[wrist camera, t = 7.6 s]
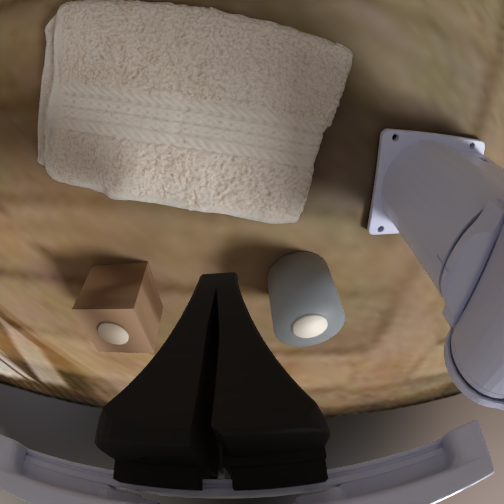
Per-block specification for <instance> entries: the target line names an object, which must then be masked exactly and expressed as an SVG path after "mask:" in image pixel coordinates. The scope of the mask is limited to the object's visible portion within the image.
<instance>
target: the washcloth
mask: <svg viewBox="0 0 504 504" xmlns="http://www.w3.org/2000/svg"><path fill="white" fill-rule="evenodd" d="M44 32H45V33H46V41H47V42H46V49H45V62H44V68H43V74H42V83H41V92H40V102H39V115H38V159H37V161H38V163H39V164H41V165H45V167H46V171H47V173H48V174H49V176H50V177H51V178H53V179H54V180H56V181H58V182H62V183H67V184H70V185H75V186H81V187H84V188H90V189H93V190H95V191H99V192H102V193H104V194H106V195H107V196H108V197H109V198H112V199H115V200H135V201H141V202H150V203H158V204H163V205H168V206H173V207H177V208H183V209H188V210H196V211H201V212H207V213H209V212H214V213H221V214H228V215H231V216H236V217H241V218H246V219H249V220H256V221H262V222H265V223H273V224H275V223H291V222H292V223H295V222H297V221H298V219H299V217H300V214H301V212H302V211H303V210H304V205H305V202H306V200H307V195H308V192H309V191H310V185H311V182H312V174H313V172H314V166H313V165H314V162H315V159H316V156H317V153H318V151H319V145H320V143H321V141H322V138H323V135H322V134H323V132H324V131H325V130H326V128H328V127H330V126H331V125H332V120H333V119H334V115H335V113H336V109H337V107H338V106H340V105H339V101H340V98H341V97H342V94H343V91H344V89H345V85H346V80H347V76H348V74H349V72H350V69H351V65H352V62H353V61H352V56H353V55H352V52H351V51H350V50H349V49H347V47H345V46H342V45H341V44H339V43H338V42H337V43H332V42H331V41H330V40H328V39H324V38H321V37H318V36H315V35H312V34H307V33H305V32H299V31H298V30H296V29H294V28H293V27H289V26H282V25H279V24H277V23H276V22H271V21H268V20H259V19H252V18H248V17H246V16H243V15H241V14H230V13H226V12H223V11H220V10H218V9H216V8H213V7H208V8H205V7H196V5H195V6H188V5H185V4H181V5H175V4H173V3H171V2H165V3H164V2H157V3H156V2H143V1H139V0H136V1H132V0H129V1H124V0H110V1H105V0H86V1H78V0H76V1H70V2H66V3H65V4H62V5H61V6H60V7H59V9H58V10H57V14H56V15H55V16H54V17H53V18H52V19H51V20H50V21H49V23H48V24H47V25H46V27H45V31H44Z"/></svg>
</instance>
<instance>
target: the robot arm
mask: <svg viewBox="0 0 504 504" xmlns="http://www.w3.org/2000/svg"><path fill="white" fill-rule="evenodd" d="M394 134H396V138H395V139H394V140H392V136H393V135H394ZM471 143H472V145H471V147H470V144H471ZM484 149H485V144H484V142H483V141H481V140H478V139H472V138H466V137H460V136H453V135H446V134H438V133H430V132H421V131H411V130H401V129H388V128H387V129H384V130H382V132H381V133H380V140H379V149H378V158H377V166H376V174H375V181H374V189H373V195H372V202H371V208H370V214H369V220H368V226H367V230H368V231H369V233H370V234H372V235H378V234H394V233H400V234H401V235H402V237H403V238H404V240H405V241H406V242H407V244H408V245H409V247H410V248H411V250H412V251H413V253H414V254H415V256H416V257H417V258H418V260H419V261H420V263H421V264H422V266H423V267H424V269H425V271H426V272H427V274H428V275H429V277H430V278H431V280H432V281H433V283H434V285H435V286H436V288H437V289H438V291H439V293H440V294H441V296H442V297H443V299H444V302H445V307H444V310H443V315H444V317H445V318H446V320H447V322H448V324H449V326H450V327H451V329H450V331H449V333H448V334H447V337H446V340H445V345H444V359H445V364H446V367H447V370H448V373H449V375H450V377H451V379H452V380H453V382H454V383H455V385H456V386H457V388H458V389H459V390H460V391H461V392H462V393H463V394H464V395H465V396H467V397H468V398H469V399H470V400H472V401H474V402H476V403H478V404H480V405H483V406H487V407H493V408H498V409H501V410H504V169H503V168H502V167H500V166H499V165H497V164H496V163H494V162H493V161H492V160H490V159H489V158H487V157H486V156H484V155H483V154H484ZM380 226H382V227H381V228H380V229H378V228H379V227H380ZM329 438H330V431H329V428H328V425H327V422H326V420H325V418H324V416H323V414H322V412H321V410H320V409H319V407H318V405H317V403H316V402H315V401H314V400H313V399H312V398H311V397H310V396H308V395H307V394H306V393H305V392H304V391H303V390H302V389H301V387H300V386H299V385H298V384H297V383H296V382H295V381H294V380H293V379H292V378H291V377H290V375H289V374H288V373H287V372H286V370H285V369H284V368H283V367H282V365H281V364H280V363H279V362H278V360H277V359H276V358H275V356H274V355H273V354H272V352H271V351H270V349H269V348H268V346H267V345H266V343H265V342H264V340H263V339H262V337H261V335H260V333H259V332H258V330H257V328H256V326H255V324H254V323H253V321H252V319H251V317H250V315H249V312H248V310H247V308H246V305H245V303H244V301H243V298H242V295H241V292H240V289H239V285H238V279H237V274H236V273H234V272H232V273H217V274H203V275H202V276H201V277H200V279H199V281H198V284H197V286H196V288H195V291H194V293H193V295H192V297H191V299H190V301H189V303H188V305H187V307H186V309H185V311H184V312H183V314H182V316H181V318H180V319H179V321H178V323H177V324H176V326H175V328H174V329H173V331H172V333H171V334H170V336H169V337H168V339H167V340H166V341H165V343H164V344H163V346H162V347H161V348H160V350H159V351H158V352H157V354H156V355H155V356H154V357H153V359H152V360H151V361H150V362H149V364H148V365H147V366H146V367H145V368H144V369H143V370H142V371H141V373H140V374H139V375H138V376H137V377H136V378H135V379H134V380H133V381H132V382H131V383H130V384H129V385H128V386H127V387H126V388H125V389H124V390H123V391H121V392H120V393H119V394H118V395H117V396H116V397H114V398H113V399H112V400H111V401H110V402H109V403H107V404H106V405H105V406H104V407H103V409H102V412H101V415H100V418H99V421H98V426H97V431H96V436H95V444H96V446H97V447H98V448H99V449H100V450H102V451H103V452H104V453H106V454H107V455H109V456H110V457H112V458H114V459H115V465H114V470H109V469H103V468H98V467H93V466H89V465H84V464H79V463H76V462H71V461H67V460H63V459H60V458H56V457H53V456H49V455H46V454H43V453H39V452H36V451H33V450H30V449H27V448H26V447H25V446H24V445H22V444H21V443H19V442H17V441H15V440H13V439H10V438H8V437H5V436H3V435H0V489H1V490H3V491H5V492H7V493H9V494H11V495H13V496H14V497H17V498H19V499H21V500H23V501H25V502H27V503H29V504H160V503H159V502H155V501H152V500H148V499H146V498H143V497H142V496H140V495H137V494H132V493H128V492H124V491H119V490H116V489H121V490H126V491H133V492H139V493H147V494H155V495H165V496H175V497H189V498H256V497H270V496H281V495H291V494H299V493H306V492H313V491H318V492H313V493H309V494H305V495H300V496H297V498H296V502H294V504H435V503H437V502H440V501H441V500H444V499H446V498H448V497H450V496H452V495H454V494H456V493H458V492H460V491H462V490H464V489H466V488H468V487H470V486H472V485H474V484H476V483H477V482H479V481H481V480H483V479H485V478H486V477H488V476H490V475H492V474H493V473H494V467H493V464H492V461H491V458H490V455H489V451H488V448H487V445H486V442H485V439H484V436H483V434H482V431H481V428H480V425H479V423H478V420H474V421H472V422H469V423H467V424H465V425H462V426H460V427H457V428H455V429H453V430H451V431H450V432H448V433H447V434H445V435H444V436H443V437H442V439H439V440H436V441H434V442H431V443H428V444H425V445H423V446H419V447H417V448H413V449H411V450H407V451H404V452H401V453H397V454H394V455H390V456H387V457H383V458H379V459H376V460H372V461H368V462H363V463H359V464H355V465H350V466H345V467H340V468H335V469H330V470H327V468H326V462H325V459H326V452H325V445H326V443H327V441H328V440H329ZM224 468H226V470H227V471H228V473H229V475H230V476H231V479H223V478H224V477H225V473H224ZM336 487H337V488H336ZM325 489H326V490H325ZM320 490H322V491H320Z"/></svg>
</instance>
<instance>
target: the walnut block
mask: <svg viewBox="0 0 504 504" xmlns="http://www.w3.org/2000/svg"><path fill="white" fill-rule="evenodd" d="M162 309H163V305H162V302H161V300H160V297H159V294H158V291H157V288H156V285H155V282H154V279H153V276H152V272H151V269H150V266H149V263H148V262H137V263H123V264H108V265H93V266H92V268H91V270H90V272H89V274H88V276H87V278H86V280H85V282H84V284H83V286H82V289H81V291H80V293H79V295H78V297H77V299H76V302H75V304H74V306H73V308H72V310H73V312H74V313H75V315H76V317H77V319H78V320H79V322H80V324H81V325H82V327H83V329H84V330H85V332H86V333H87V335H88V337H89V338H90V340H91V341H92V343H93V344H94V346H95V347H96V349H97V350H98V351H99V352H127V353H154V351H155V346H156V340H157V335H158V330H159V324H160V319H161V314H162Z"/></svg>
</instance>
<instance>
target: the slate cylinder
mask: <svg viewBox="0 0 504 504" xmlns="http://www.w3.org/2000/svg"><path fill="white" fill-rule="evenodd" d="M267 285H268V292H269V299H270V306H271V314H272V321H273V328H274V333H275V335H276V337H277V338H278V339H279V340H280V341H281V342H283V343H285V344H288V345H292V346H310V345H315V344H318V343H321V342H324V341H326V340H328V339H329V338H331V337H333V336H334V335H335V334H336V333H337V332H338V331H339V330H340V329H341V328H342V326H343V324H344V321H345V313H344V310H343V307H342V304H341V301H340V299H339V296H338V293H337V290H336V287H335V285H334V282H333V279H332V276H331V274H330V271H329V268H328V265H327V263H326V262H325V260H324V259H323V258H322V257H320V256H319V255H317V254H314V253H311V252H294V253H290V254H287V255H285V256H283V257H281V258H280V259H278V260H277V261H276V262H275V263H274V264H273V265H272V266H271V267H270V269H269V271H268V274H267Z"/></svg>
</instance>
